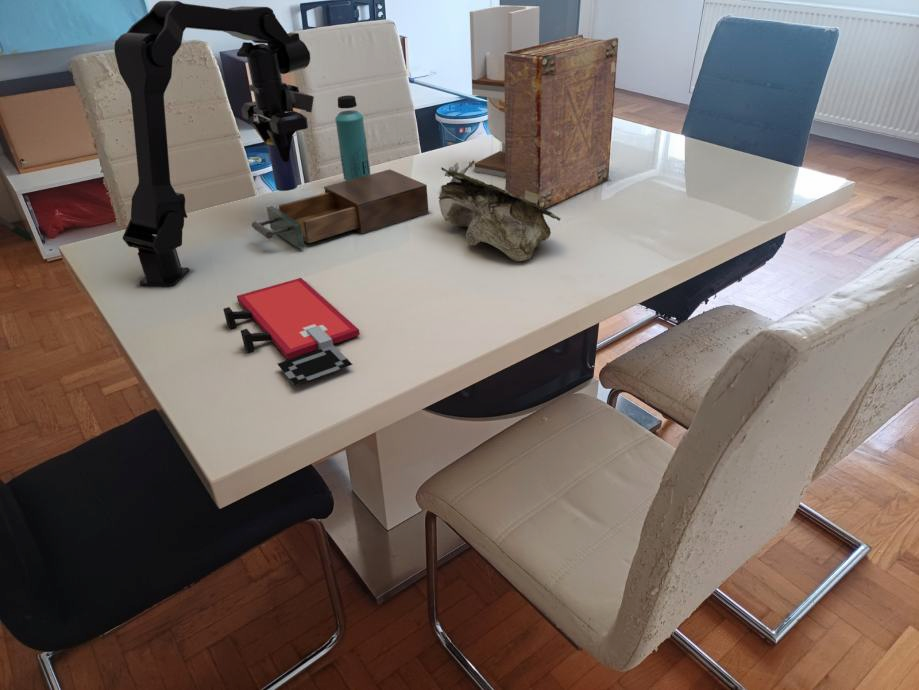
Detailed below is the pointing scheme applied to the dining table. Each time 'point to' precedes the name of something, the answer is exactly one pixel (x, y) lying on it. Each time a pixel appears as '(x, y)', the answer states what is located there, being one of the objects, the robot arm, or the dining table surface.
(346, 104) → the beverage bottle
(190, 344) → the dining table surface
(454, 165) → the dry twiggy plant
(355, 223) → the drawer
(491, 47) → the display case
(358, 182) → the cabinet
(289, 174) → the tin
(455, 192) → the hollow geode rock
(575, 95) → the book
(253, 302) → the red board with handle
